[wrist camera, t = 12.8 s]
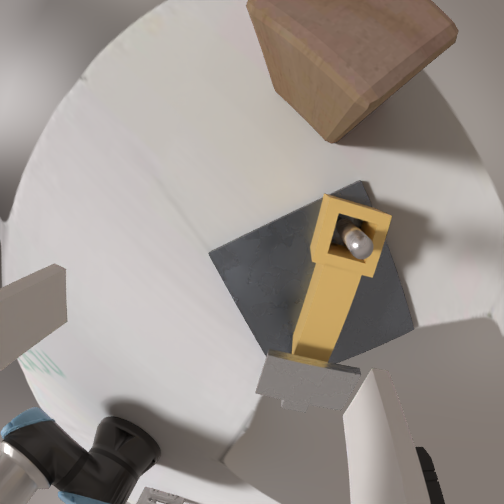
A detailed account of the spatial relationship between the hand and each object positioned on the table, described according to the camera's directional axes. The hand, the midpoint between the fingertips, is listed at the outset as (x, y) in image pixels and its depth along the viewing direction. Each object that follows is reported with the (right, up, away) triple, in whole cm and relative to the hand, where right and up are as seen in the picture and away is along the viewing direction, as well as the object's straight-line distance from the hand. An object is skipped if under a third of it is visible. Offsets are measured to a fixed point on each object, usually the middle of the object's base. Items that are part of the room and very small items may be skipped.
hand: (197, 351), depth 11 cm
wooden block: (+11, +22, +19) cm, 32 cm away
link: (+11, +1, +24) cm, 26 cm away
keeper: (+9, -9, +28) cm, 30 cm away
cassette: (-22, -63, +47) cm, 81 cm away
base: (+10, -1, +26) cm, 28 cm away
